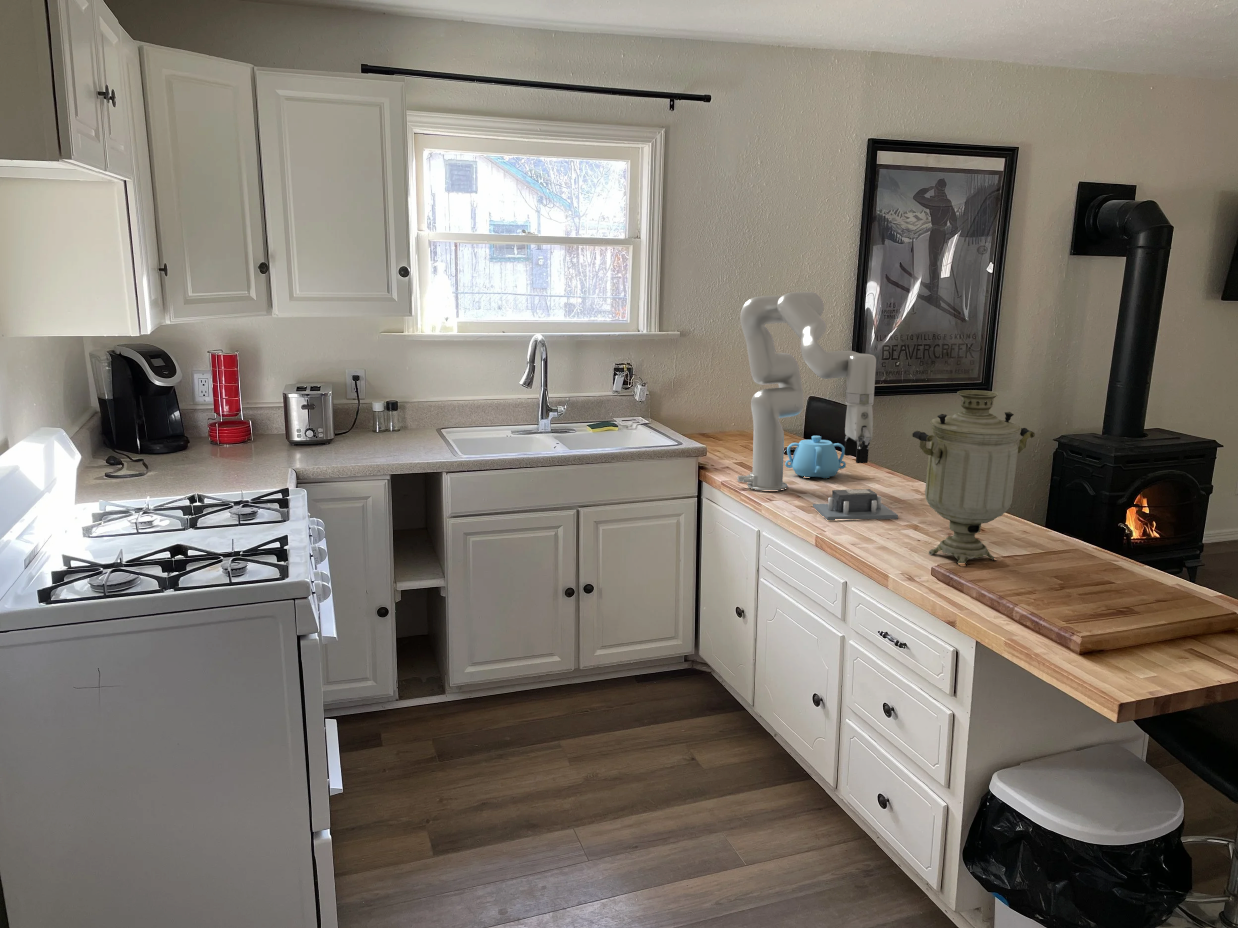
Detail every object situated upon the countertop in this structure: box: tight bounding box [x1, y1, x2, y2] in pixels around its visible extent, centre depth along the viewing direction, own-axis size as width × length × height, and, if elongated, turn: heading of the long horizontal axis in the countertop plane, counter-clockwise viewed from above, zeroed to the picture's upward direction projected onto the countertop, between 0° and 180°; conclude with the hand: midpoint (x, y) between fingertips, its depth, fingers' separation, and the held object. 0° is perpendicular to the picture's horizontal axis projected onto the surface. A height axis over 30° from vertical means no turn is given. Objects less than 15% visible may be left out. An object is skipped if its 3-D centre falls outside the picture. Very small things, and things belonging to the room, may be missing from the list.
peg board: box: [812, 495, 899, 521], centre depth 260 cm, size 20×14×5 cm
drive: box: [831, 488, 878, 512], centre depth 259 cm, size 11×6×5 cm, turn 95°
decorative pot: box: [784, 435, 847, 479], centre depth 306 cm, size 16×16×14 cm
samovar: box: [911, 389, 1036, 564], centre depth 219 cm, size 30×26×40 cm
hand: (855, 459), depth 257 cm, fingers open, 9 cm apart
